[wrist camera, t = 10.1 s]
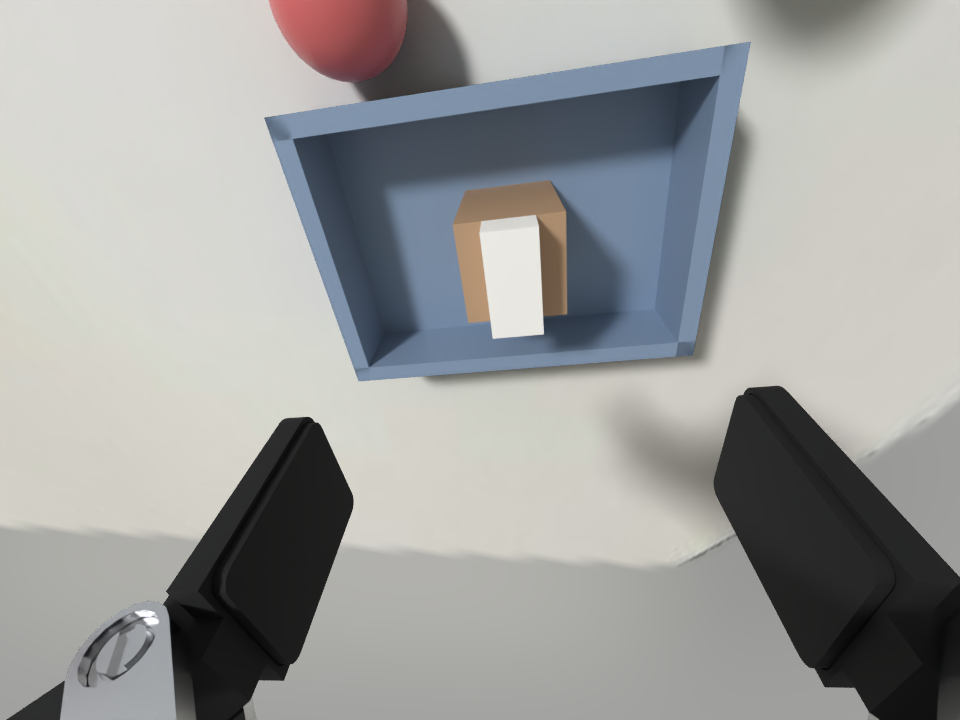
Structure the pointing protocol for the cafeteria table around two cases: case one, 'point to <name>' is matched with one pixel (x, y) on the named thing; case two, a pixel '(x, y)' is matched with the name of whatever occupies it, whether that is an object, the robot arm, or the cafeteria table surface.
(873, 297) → the cafeteria table surface
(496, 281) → the brown and white block
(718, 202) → the tub
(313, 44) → the red glossy sphere
